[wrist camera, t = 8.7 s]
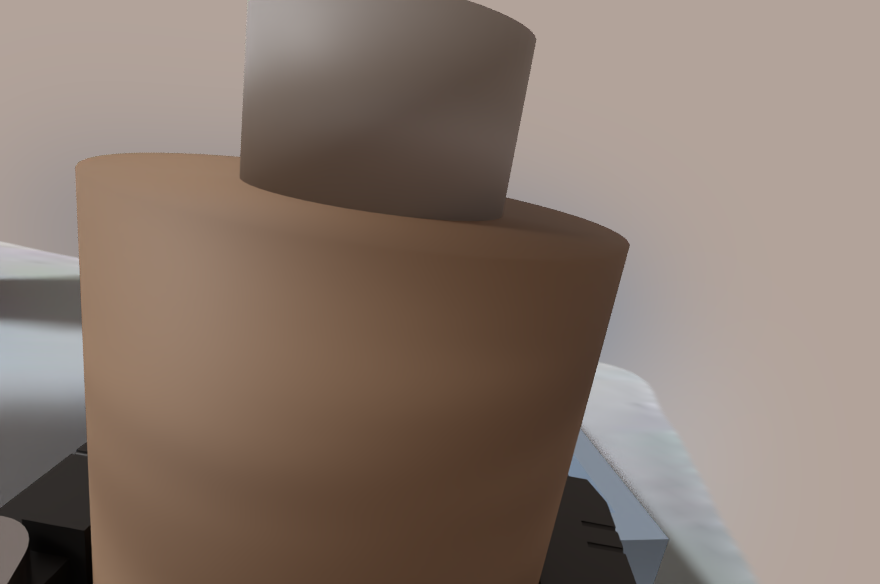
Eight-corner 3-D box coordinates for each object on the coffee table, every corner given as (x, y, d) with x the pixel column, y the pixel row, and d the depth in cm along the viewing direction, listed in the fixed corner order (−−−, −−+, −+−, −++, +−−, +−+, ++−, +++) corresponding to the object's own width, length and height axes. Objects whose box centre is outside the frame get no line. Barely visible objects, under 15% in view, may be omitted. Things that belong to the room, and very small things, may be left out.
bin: (16, 656, 13) (5, 554, 12) (196, 355, 30) (197, 303, 29) (642, 616, 17) (668, 539, 16) (489, 372, 34) (499, 327, 33)
